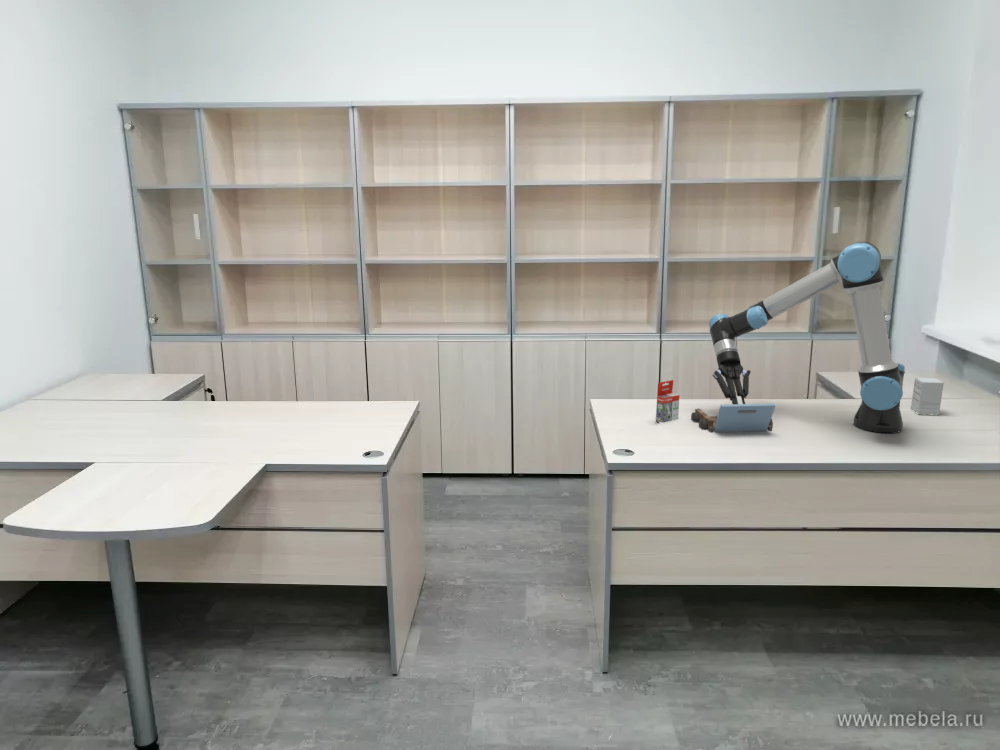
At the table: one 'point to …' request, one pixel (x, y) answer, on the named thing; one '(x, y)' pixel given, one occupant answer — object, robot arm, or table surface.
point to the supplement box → (927, 396)
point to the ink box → (666, 403)
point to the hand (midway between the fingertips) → (741, 415)
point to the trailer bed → (711, 420)
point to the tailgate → (744, 417)
